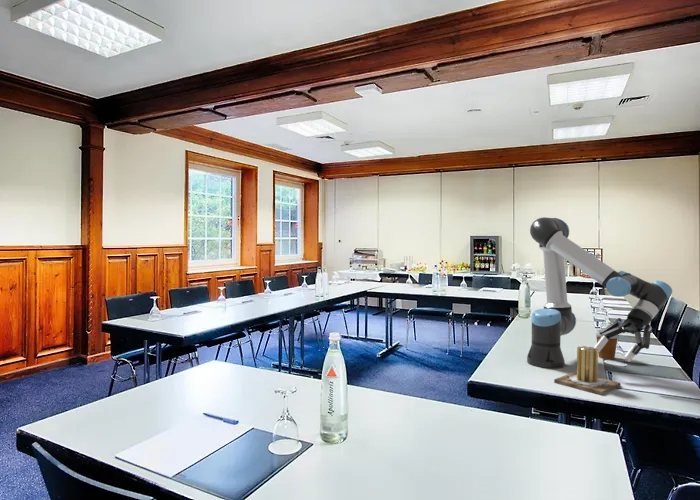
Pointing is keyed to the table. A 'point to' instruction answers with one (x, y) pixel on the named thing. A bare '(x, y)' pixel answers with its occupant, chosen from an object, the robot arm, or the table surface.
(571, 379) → the board
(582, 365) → the brass pinion gear
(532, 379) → the table surface
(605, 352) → the disposable coffee cup
